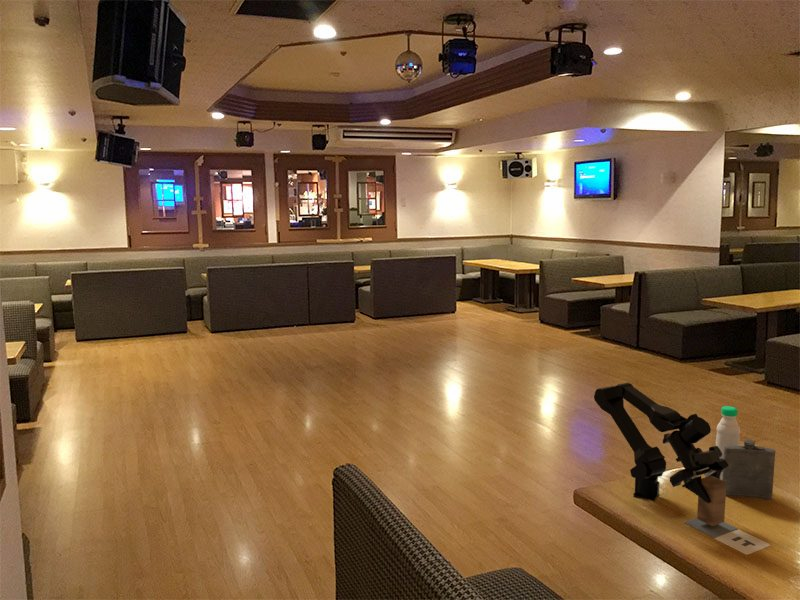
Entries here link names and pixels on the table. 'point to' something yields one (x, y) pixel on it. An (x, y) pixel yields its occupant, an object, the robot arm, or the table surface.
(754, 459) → the flask
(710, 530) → the mat
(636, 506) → the table surface
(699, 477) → the robot arm
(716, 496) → the walnut pillar
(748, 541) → the tile
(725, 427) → the water bottle
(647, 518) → the table surface
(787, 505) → the table surface
